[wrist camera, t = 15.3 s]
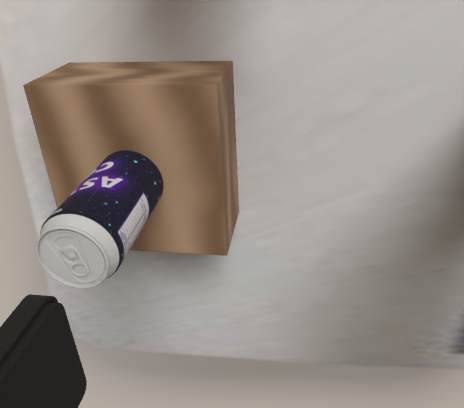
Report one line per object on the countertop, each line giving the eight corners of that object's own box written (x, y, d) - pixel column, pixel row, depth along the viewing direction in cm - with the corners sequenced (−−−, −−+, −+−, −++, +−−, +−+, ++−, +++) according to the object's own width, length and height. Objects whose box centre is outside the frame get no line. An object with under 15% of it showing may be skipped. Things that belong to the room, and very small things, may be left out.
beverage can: (150, 138, 37) (87, 213, 27) (176, 196, 39) (128, 285, 29) (92, 155, 39) (12, 232, 28) (121, 209, 41) (58, 299, 31)
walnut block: (232, 61, 41) (216, 84, 34) (238, 211, 49) (226, 255, 42) (68, 62, 43) (23, 85, 36) (100, 205, 51) (68, 246, 44)
